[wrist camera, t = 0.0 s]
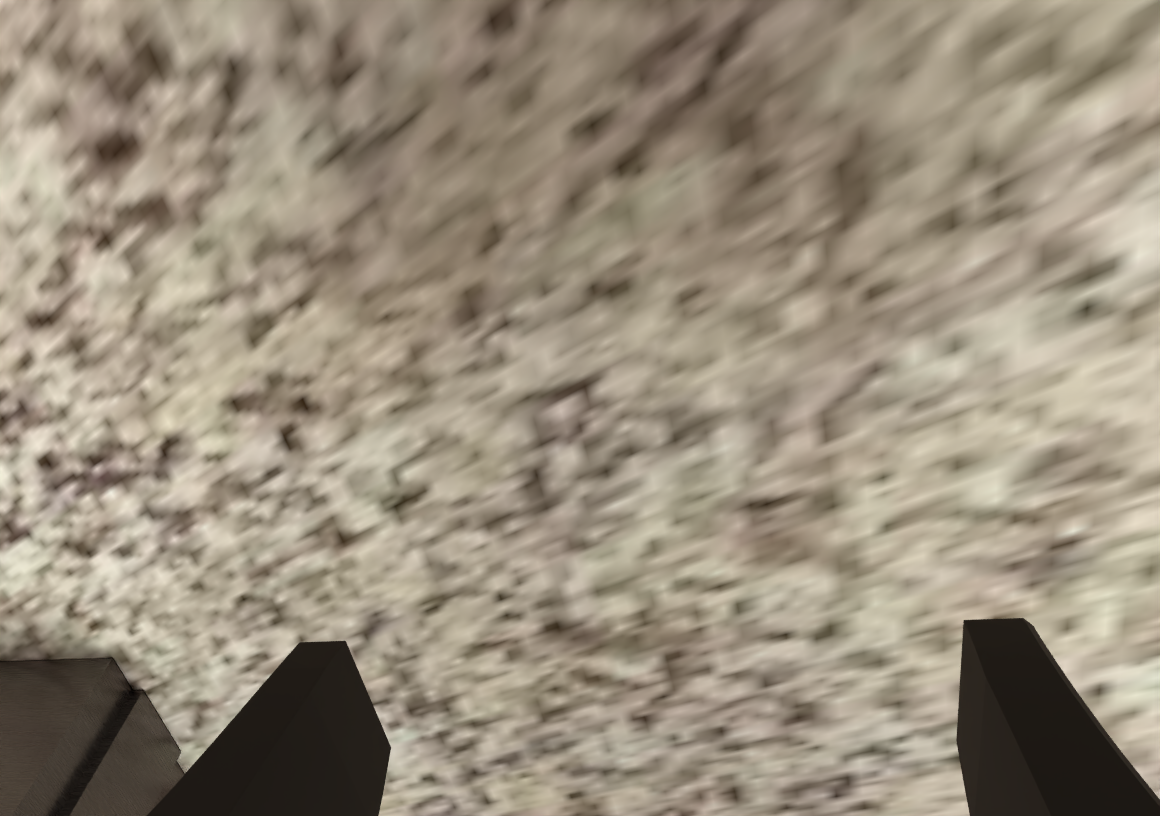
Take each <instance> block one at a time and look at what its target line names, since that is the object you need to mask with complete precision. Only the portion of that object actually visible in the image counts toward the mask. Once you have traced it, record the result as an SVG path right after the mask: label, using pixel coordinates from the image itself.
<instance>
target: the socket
mask: <svg viewBox="0 0 1160 816" xmlns="http://www.w3.org/2000/svg"><path fill="white" fill-rule="evenodd" d="M180 753H181V752H180V750H179V748H178V747H177V745H176V744H175V742H174V740H173V739H172V737H171V735H170V734H169V732H168V730H167V729H166V727H165V725H164V724H163V722H162V721H161V719H160V717H159V716H158V714H157V712H156V711H155V709H154V707H153V706H152V704H151V703H150V701H149V699H148V698H147V696H146V694H145V693H144V691H132V689H131V687H130V686H129V684H128V683H127V681H126V679H125V678H124V676H123V674H122V673H121V671H120V670H119V668H118V666H117V665H116V663H115V662H114V660H113V658H110V659H79V660H47V661H16V662H0V816H147V815H148V814H149V812H150V811H151V810H152V809H153V808H154V807H155V806H156V805H157V804H158V803H159V802H160V801H161V800H162V799H163V798H164V797H165V796H166V795H167V793H168V792H169V791H170V790H171V789H172V788H173V787H174V786H175V785H176V783H177V782H178V781H179V780H180V779H181V778H182V777H183V776H184V773H183V772H182V770H181V768H180V767H179V765H178V763H177V762H176V761H177V759H178V757H179V755H180Z"/></svg>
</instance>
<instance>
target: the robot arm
mask: <svg viewBox="0 0 1160 816" xmlns="http://www.w3.org/2000/svg"><path fill="white" fill-rule="evenodd" d="M957 746H958V752H959V758H960V763H961V769H962V775H963V780H964V786H965V791H966V797H967V802H968V807H969V813H970V816H1160V799H1159V798H1158V797H1157V796H1156V794H1155V793H1154V792H1153V791H1152V789H1151V788H1150V787H1149V786H1148V784H1147V783H1146V782H1145V781H1144V780H1143V778H1142V777H1141V776H1140V775H1139V773H1138V772H1137V771H1136V770H1135V768H1134V767H1133V766H1132V765H1131V763H1130V762H1129V761H1128V760H1127V758H1126V757H1125V756H1124V755H1123V753H1122V752H1121V751H1120V749H1119V748H1118V747H1117V745H1116V744H1115V743H1114V742H1113V740H1112V739H1111V738H1110V736H1109V735H1108V734H1107V732H1106V731H1105V730H1104V728H1103V727H1102V726H1101V724H1100V723H1099V722H1098V720H1097V719H1096V717H1095V716H1094V715H1093V713H1092V712H1091V711H1090V709H1089V708H1088V706H1087V705H1086V704H1085V702H1084V701H1083V700H1082V698H1081V697H1080V696H1079V694H1078V693H1077V691H1076V690H1075V688H1074V687H1073V686H1072V684H1071V683H1070V681H1069V680H1068V678H1067V677H1066V676H1065V674H1064V673H1063V671H1062V670H1061V668H1060V667H1059V665H1058V664H1057V662H1056V661H1055V659H1054V658H1053V656H1052V655H1051V653H1050V652H1049V650H1048V649H1047V647H1046V645H1045V644H1044V642H1043V641H1042V639H1041V638H1040V636H1039V634H1038V633H1037V631H1036V630H1035V628H1034V626H1033V625H1032V624H1030V623H1029V622H1028V621H1026V620H1025V619H1024V618H1013V619H983V620H964V625H963V641H962V658H961V675H960V691H959V708H958V725H957ZM390 750H391V747H390V744H389V742H388V739H387V737H386V735H385V732H384V730H383V728H382V725H381V723H380V721H379V718H378V716H377V714H376V711H375V709H374V707H373V704H372V702H371V700H370V697H369V695H368V693H367V690H366V688H365V685H364V683H363V681H362V678H361V676H360V674H359V671H358V669H357V667H356V664H355V662H354V660H353V657H352V655H351V653H350V650H349V648H348V646H347V643H346V641H330V642H300V643H299V644H298V645H297V646H296V647H295V648H294V649H293V651H292V652H291V653H290V654H289V655H288V656H287V657H286V658H285V660H284V661H283V662H282V663H281V664H280V665H279V667H278V668H277V669H276V670H275V671H274V672H273V673H272V675H271V676H270V677H269V678H268V679H267V680H266V682H265V683H264V684H263V685H262V686H261V687H260V688H259V690H258V691H257V692H256V693H255V694H254V695H253V697H252V698H251V699H250V700H249V701H248V702H247V704H246V705H245V706H244V707H243V708H242V709H241V711H240V712H239V713H238V714H237V715H236V716H235V718H234V719H233V720H232V721H231V722H230V723H229V724H228V726H227V727H226V728H225V729H224V730H223V731H222V733H221V734H220V735H219V736H218V737H217V738H216V740H215V741H214V742H213V743H212V744H211V745H210V746H209V747H208V749H207V750H206V751H205V752H204V753H203V754H202V755H201V756H200V758H199V759H198V760H197V761H196V762H195V763H194V764H193V765H192V767H191V768H190V769H189V770H188V771H187V772H186V773H185V774H184V776H183V777H182V778H181V779H180V780H179V781H178V782H177V783H176V785H175V786H174V787H173V788H172V789H171V790H170V791H169V792H168V793H167V795H166V796H165V797H164V798H163V799H162V800H161V801H160V802H159V803H158V804H157V805H156V806H155V807H154V808H153V809H152V810H151V811H150V812H149V814H148V815H147V816H378V815H379V810H380V805H381V800H382V795H383V790H384V784H385V779H386V773H387V767H388V762H389V756H390Z"/></svg>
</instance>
